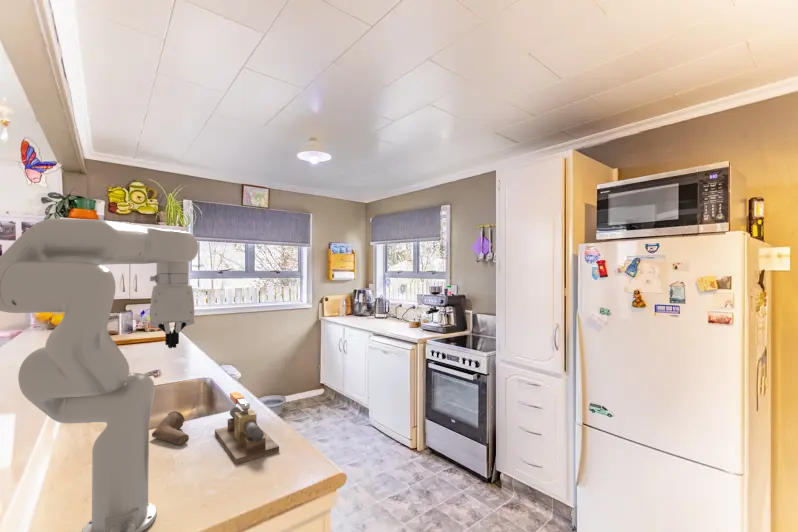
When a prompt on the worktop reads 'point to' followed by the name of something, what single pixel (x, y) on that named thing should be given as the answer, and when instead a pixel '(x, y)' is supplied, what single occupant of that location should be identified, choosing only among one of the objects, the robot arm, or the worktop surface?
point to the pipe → (171, 429)
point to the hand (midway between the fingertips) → (172, 347)
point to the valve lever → (239, 400)
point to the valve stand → (245, 437)
